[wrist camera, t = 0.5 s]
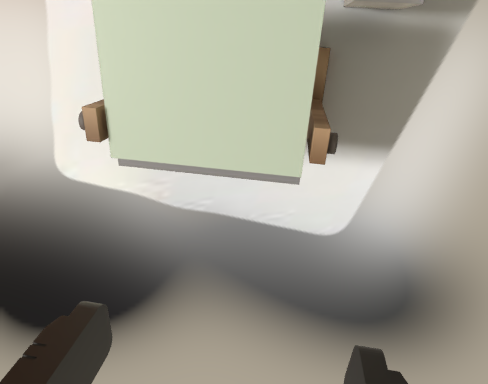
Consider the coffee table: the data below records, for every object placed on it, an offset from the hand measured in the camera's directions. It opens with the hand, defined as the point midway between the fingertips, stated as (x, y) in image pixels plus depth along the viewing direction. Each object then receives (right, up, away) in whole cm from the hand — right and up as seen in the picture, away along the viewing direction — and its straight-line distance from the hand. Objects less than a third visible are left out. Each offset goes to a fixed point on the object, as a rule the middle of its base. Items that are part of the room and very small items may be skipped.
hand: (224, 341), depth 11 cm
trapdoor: (-1, +13, +15) cm, 20 cm away
